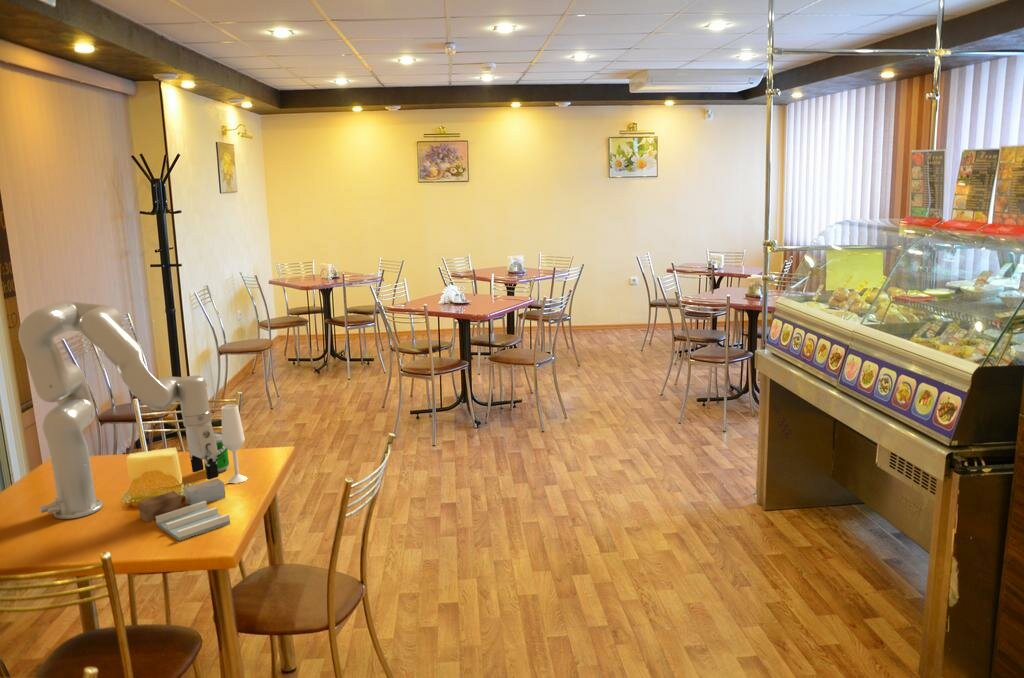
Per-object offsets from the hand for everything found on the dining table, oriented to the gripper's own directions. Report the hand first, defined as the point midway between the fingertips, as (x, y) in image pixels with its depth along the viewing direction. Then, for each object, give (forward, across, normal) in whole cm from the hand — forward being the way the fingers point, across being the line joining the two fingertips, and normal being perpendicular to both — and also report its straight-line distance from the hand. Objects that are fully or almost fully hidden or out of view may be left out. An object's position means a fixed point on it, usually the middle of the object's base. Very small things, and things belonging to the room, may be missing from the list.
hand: (205, 474), depth 233 cm
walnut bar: (+8, +1, +14) cm, 16 cm away
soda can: (+8, +23, -13) cm, 27 cm away
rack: (+8, -13, +11) cm, 19 cm away
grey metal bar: (+8, +1, +1) cm, 8 cm away
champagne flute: (+8, +9, -13) cm, 18 cm away
